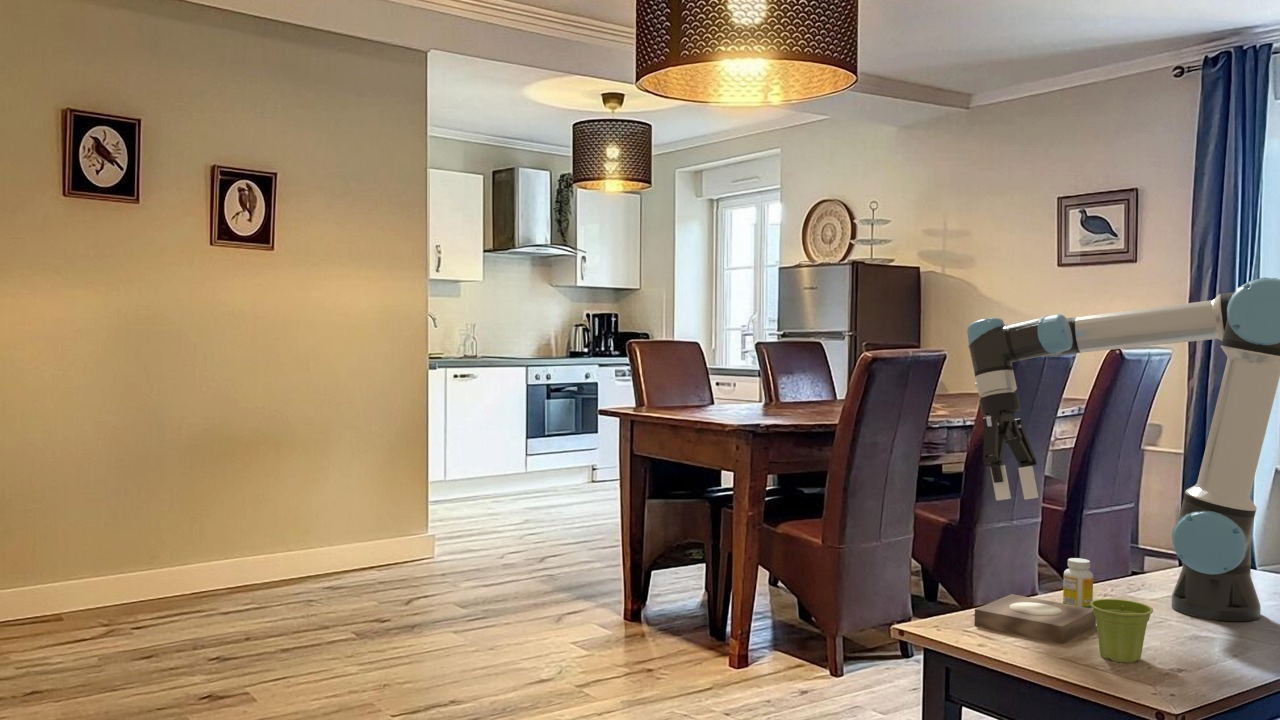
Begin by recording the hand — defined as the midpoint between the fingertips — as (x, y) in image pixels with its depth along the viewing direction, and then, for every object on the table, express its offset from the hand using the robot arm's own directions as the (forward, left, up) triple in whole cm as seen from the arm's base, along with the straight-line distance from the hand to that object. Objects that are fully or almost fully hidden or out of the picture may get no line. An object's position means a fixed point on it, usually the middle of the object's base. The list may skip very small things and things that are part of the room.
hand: (1018, 499), depth 203 cm
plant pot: (-27, +21, -21) cm, 40 cm away
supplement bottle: (-10, -6, -21) cm, 24 cm away
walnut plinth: (-9, +12, -21) cm, 26 cm away
